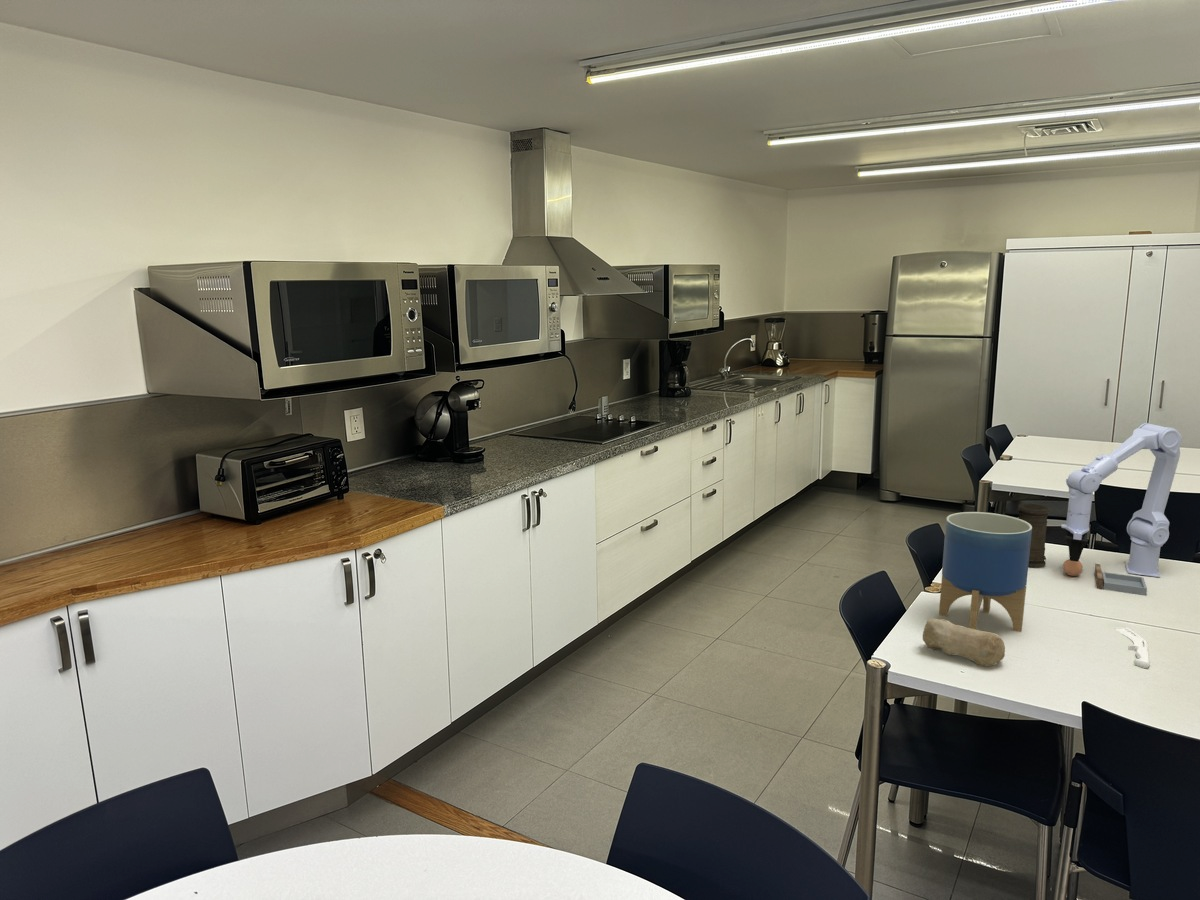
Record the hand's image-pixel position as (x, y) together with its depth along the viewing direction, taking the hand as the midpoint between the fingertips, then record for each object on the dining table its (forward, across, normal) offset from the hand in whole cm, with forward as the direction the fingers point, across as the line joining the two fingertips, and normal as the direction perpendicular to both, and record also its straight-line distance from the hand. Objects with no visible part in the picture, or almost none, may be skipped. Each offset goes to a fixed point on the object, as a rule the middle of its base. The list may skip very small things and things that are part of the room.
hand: (1073, 557), depth 239 cm
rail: (+6, +2, +7) cm, 9 cm away
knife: (+6, +46, +11) cm, 48 cm away
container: (+6, -6, -11) cm, 14 cm away
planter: (+6, +50, -21) cm, 55 cm away
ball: (+6, 0, 0) cm, 6 cm away
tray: (+6, +4, +13) cm, 14 cm away
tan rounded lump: (+6, +73, -24) cm, 77 cm away
